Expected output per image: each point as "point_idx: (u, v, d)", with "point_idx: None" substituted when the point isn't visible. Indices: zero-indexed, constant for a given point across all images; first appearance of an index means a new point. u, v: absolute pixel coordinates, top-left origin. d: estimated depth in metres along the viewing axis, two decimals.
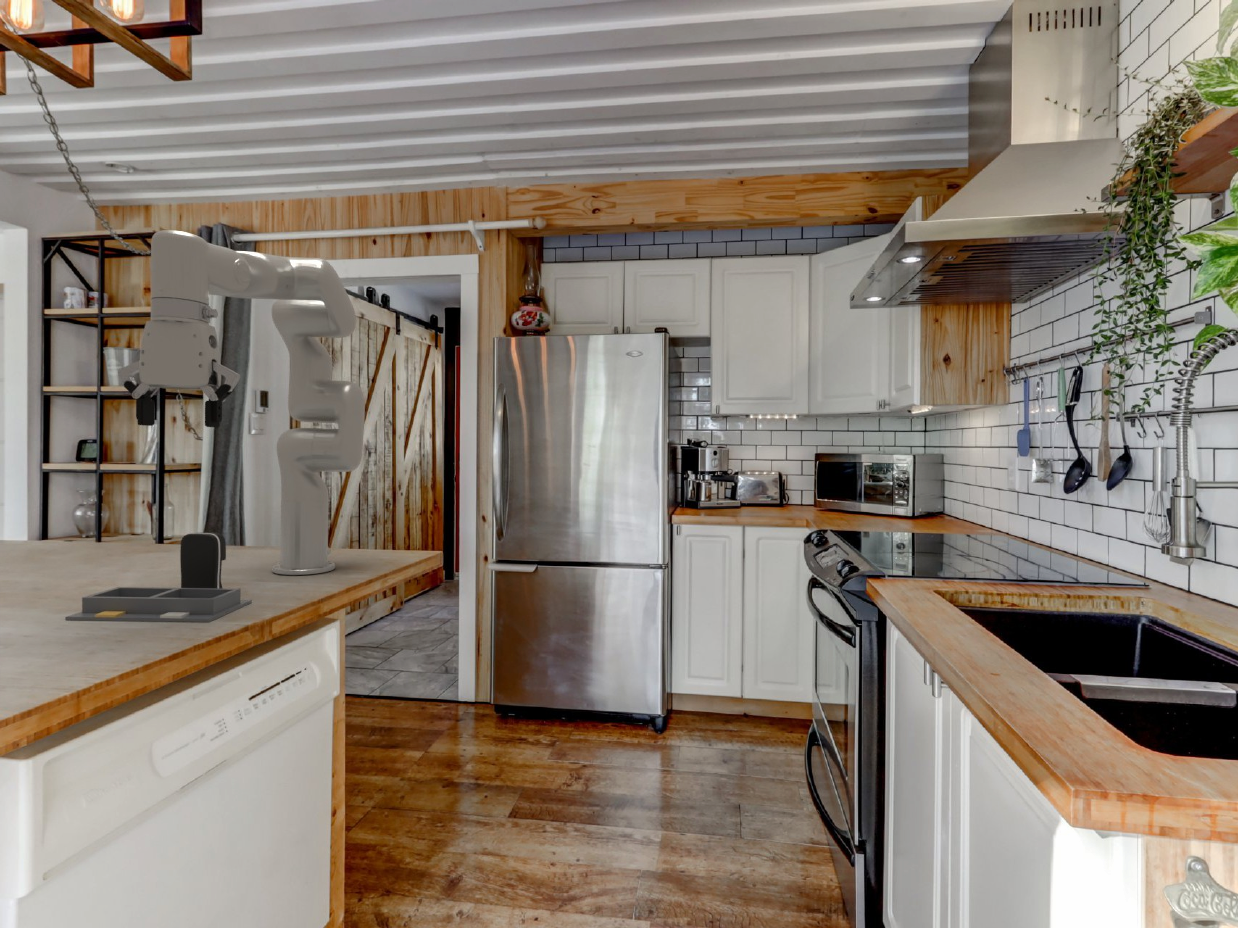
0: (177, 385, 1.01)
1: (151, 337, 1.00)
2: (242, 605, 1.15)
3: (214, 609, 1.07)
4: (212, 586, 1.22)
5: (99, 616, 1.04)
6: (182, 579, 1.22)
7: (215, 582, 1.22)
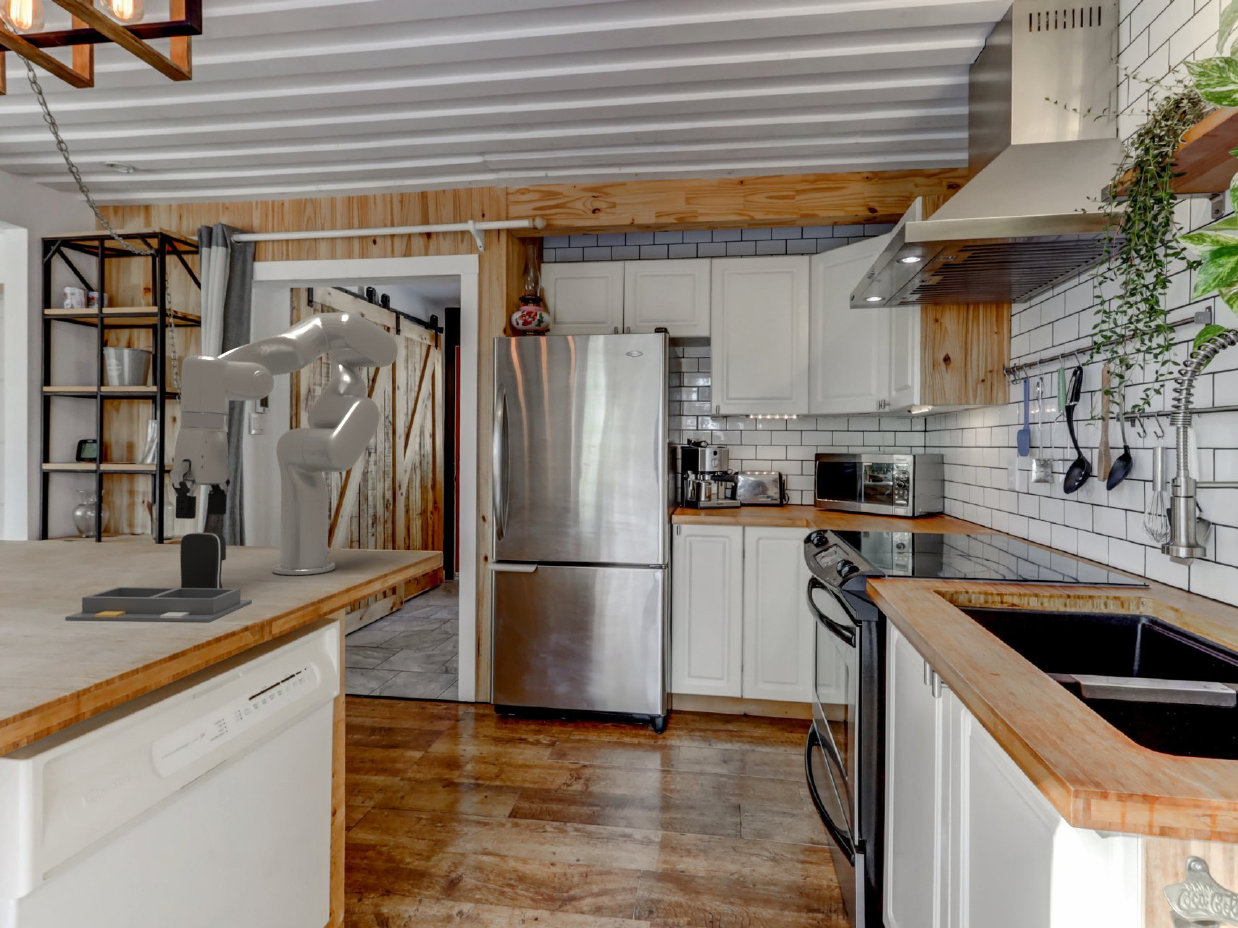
0: (215, 483, 1.23)
1: (207, 444, 1.20)
2: (242, 605, 1.15)
3: (214, 609, 1.07)
4: (212, 586, 1.22)
5: (99, 616, 1.04)
6: (182, 579, 1.22)
7: (215, 582, 1.22)
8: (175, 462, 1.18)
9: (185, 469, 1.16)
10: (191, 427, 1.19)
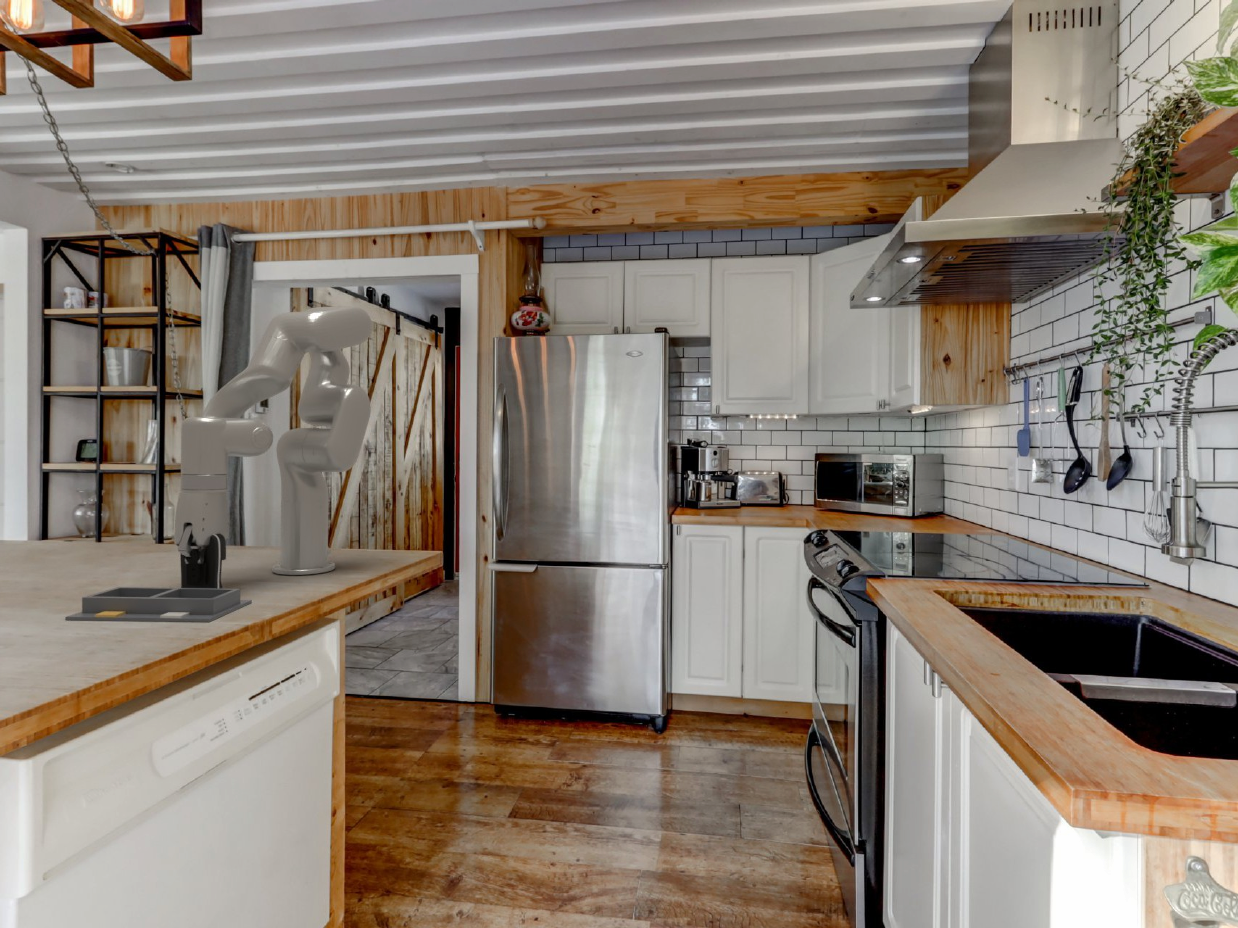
0: None
1: (208, 506, 1.20)
2: (242, 605, 1.15)
3: (214, 609, 1.07)
4: (212, 586, 1.22)
5: (99, 616, 1.04)
6: (182, 579, 1.22)
7: (215, 582, 1.22)
8: (176, 525, 1.18)
9: (190, 539, 1.18)
10: (191, 490, 1.19)
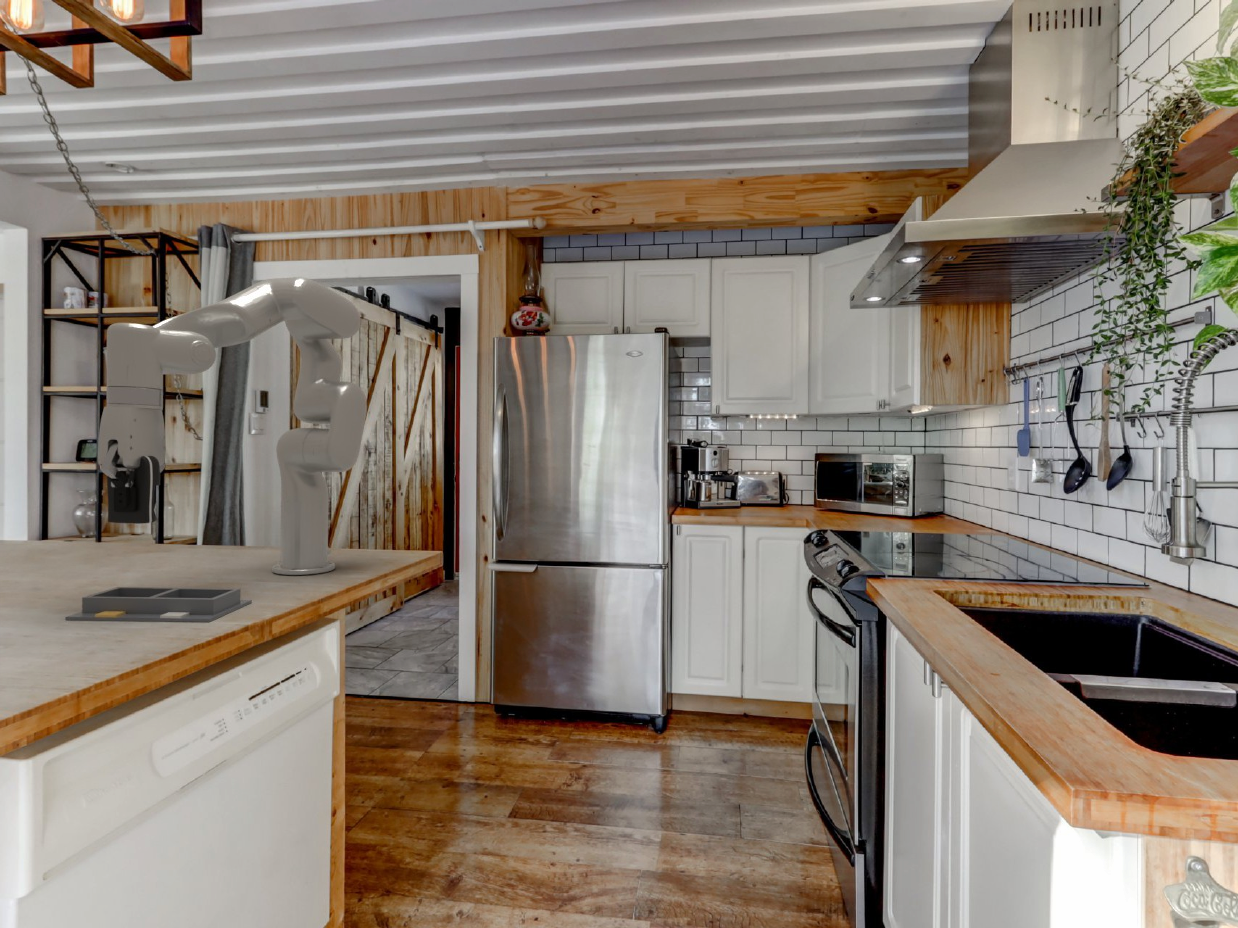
0: None
1: (137, 423, 1.07)
2: (242, 605, 1.15)
3: (214, 609, 1.07)
4: (143, 513, 1.08)
5: (99, 616, 1.04)
6: (109, 505, 1.08)
7: (146, 509, 1.09)
8: (100, 443, 1.05)
9: (116, 458, 1.05)
10: (118, 403, 1.06)
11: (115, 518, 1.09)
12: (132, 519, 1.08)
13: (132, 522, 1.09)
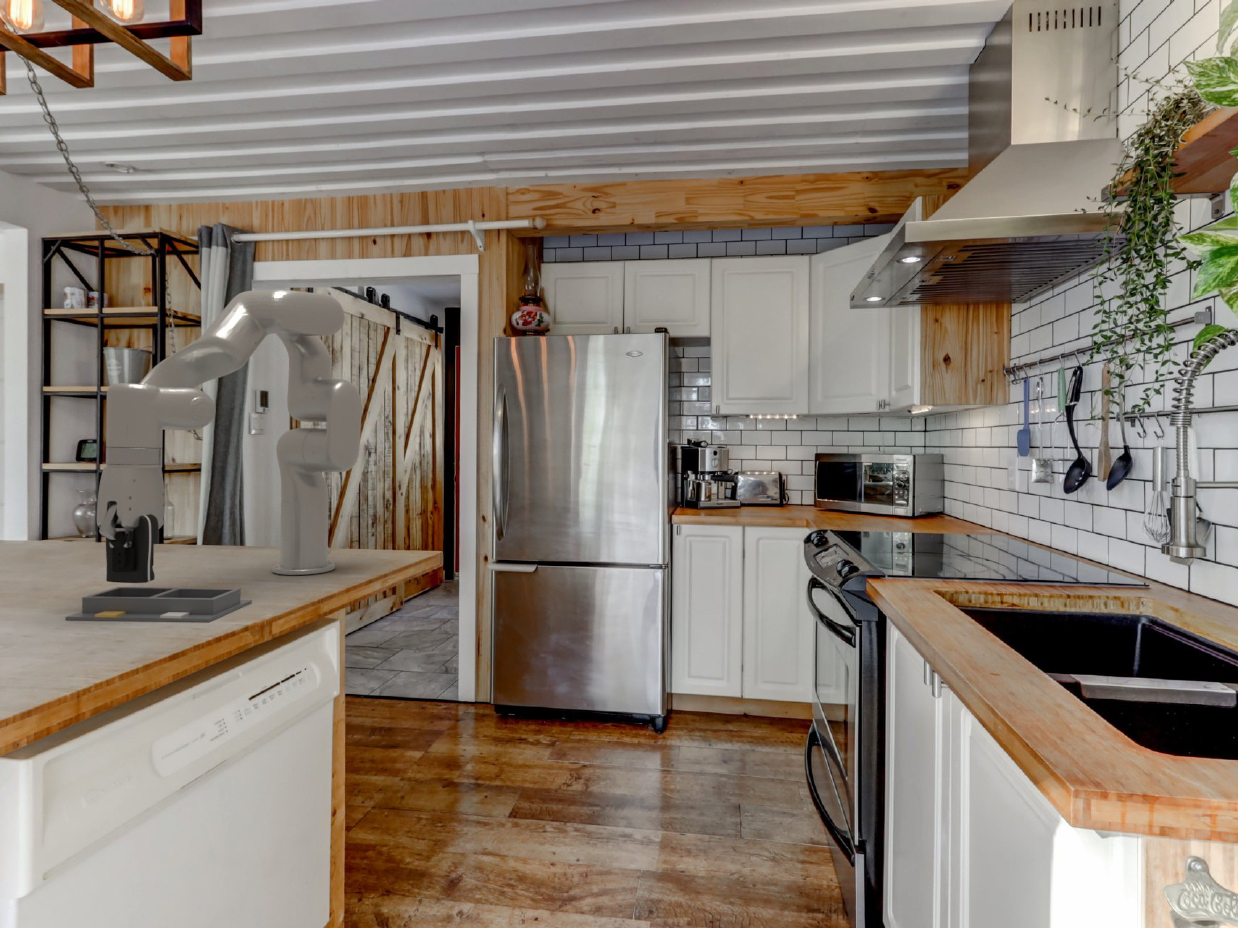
0: None
1: (136, 483, 1.07)
2: (242, 605, 1.15)
3: (214, 609, 1.07)
4: (141, 573, 1.08)
5: (99, 616, 1.04)
6: (108, 565, 1.09)
7: (145, 568, 1.09)
8: (99, 504, 1.05)
9: (115, 520, 1.05)
10: (117, 464, 1.06)
11: (113, 578, 1.09)
12: (130, 579, 1.09)
13: (130, 582, 1.09)
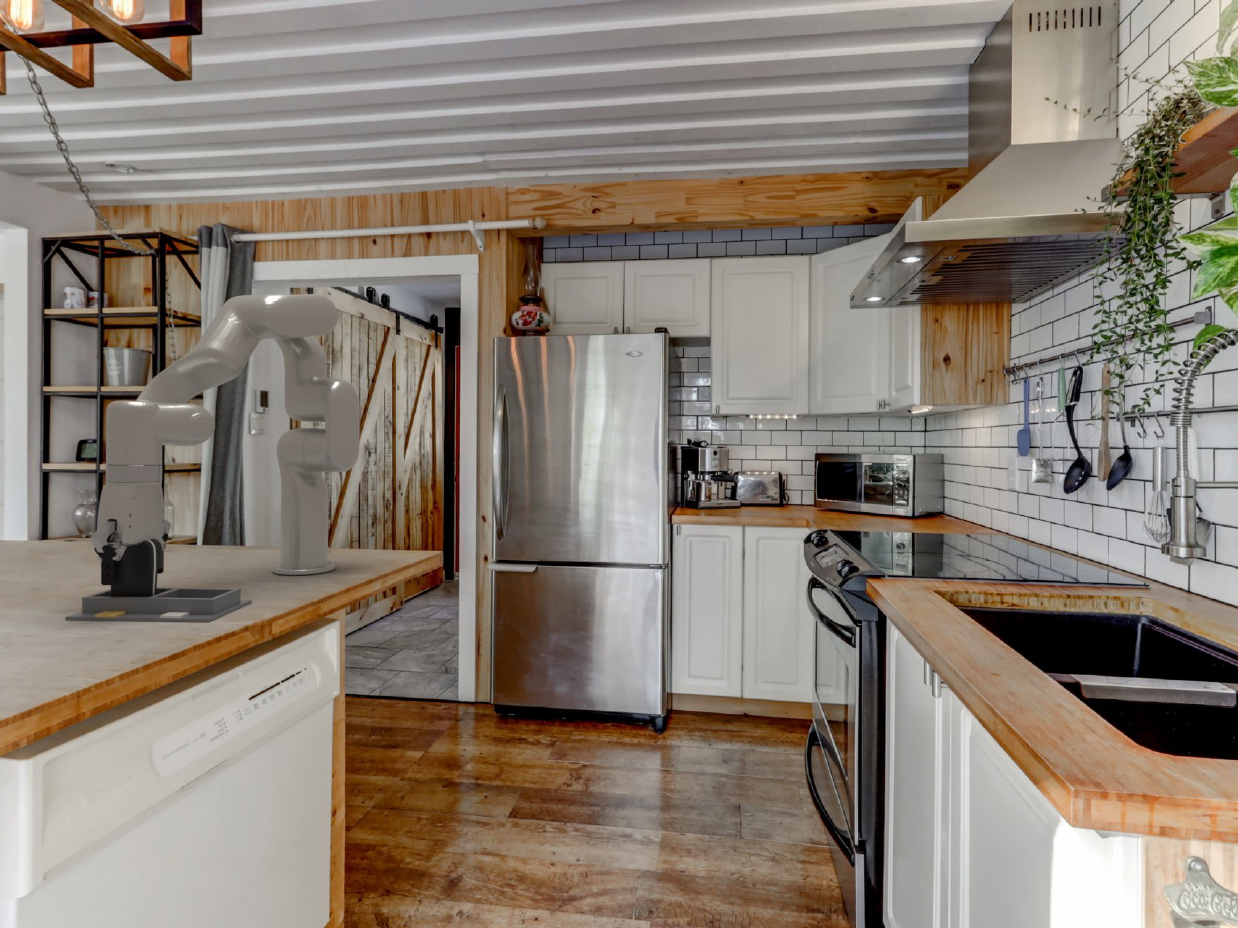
0: None
1: (136, 501, 1.07)
2: (242, 605, 1.15)
3: (214, 609, 1.07)
4: None
5: (99, 616, 1.04)
6: (112, 590, 1.09)
7: (150, 593, 1.10)
8: (99, 522, 1.05)
9: (110, 531, 1.04)
10: (117, 482, 1.06)
11: None
12: None
13: None
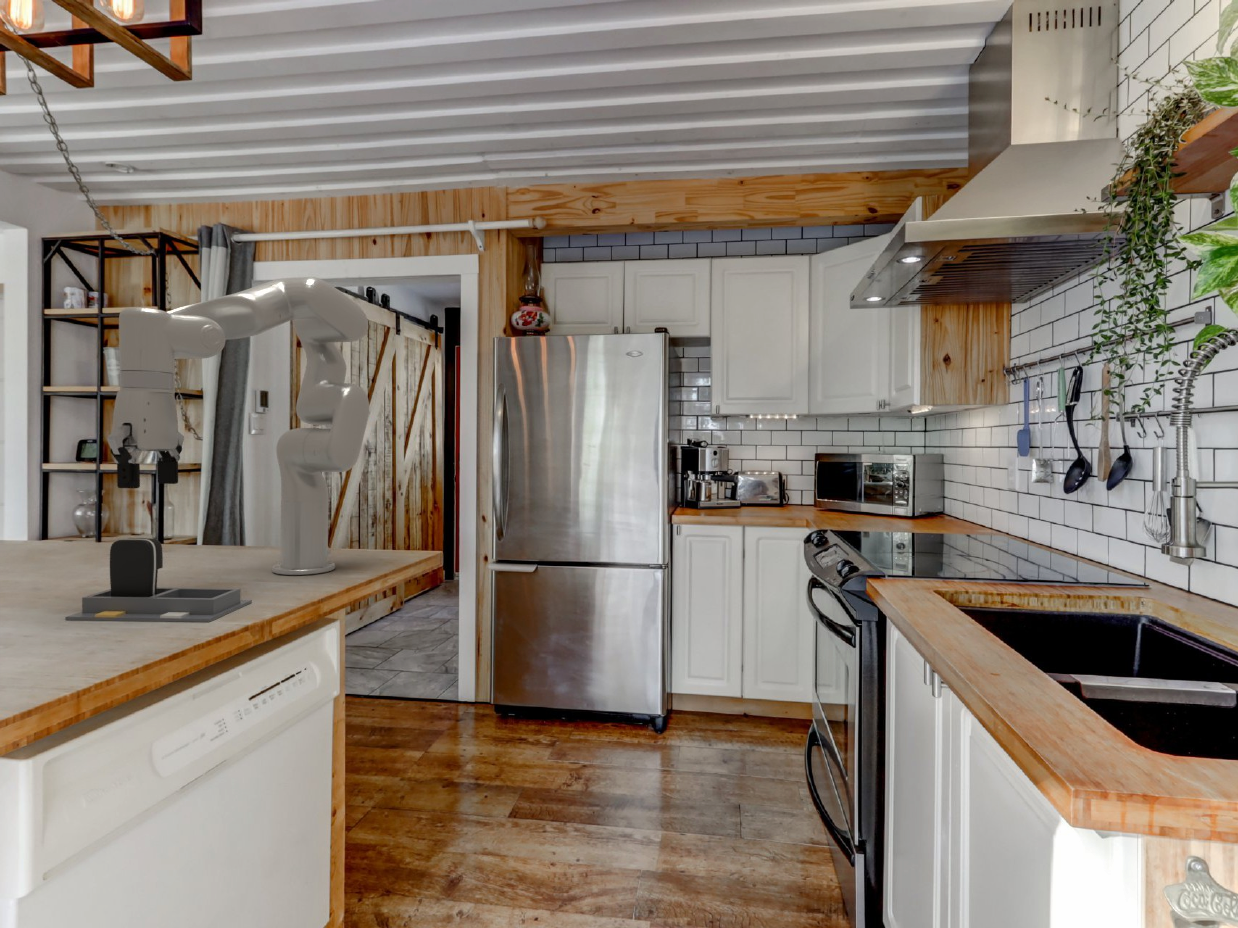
0: (162, 449, 1.12)
1: (150, 406, 1.09)
2: (242, 605, 1.15)
3: (214, 609, 1.07)
4: None
5: (99, 616, 1.04)
6: (112, 590, 1.09)
7: (150, 593, 1.10)
8: (114, 426, 1.07)
9: (125, 434, 1.05)
10: (131, 387, 1.08)
11: None
12: None
13: None
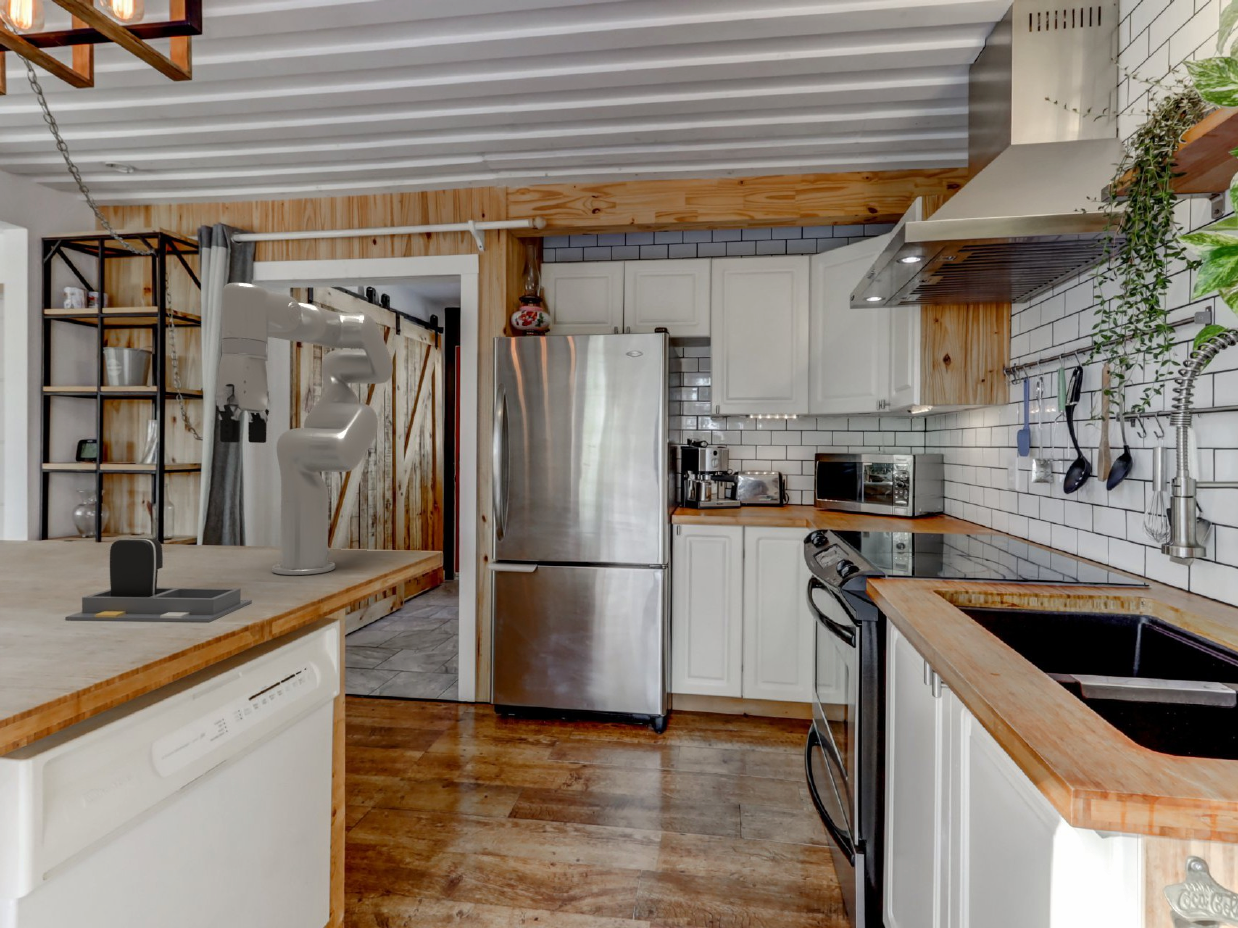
0: (256, 410, 1.26)
1: (249, 370, 1.22)
2: (242, 605, 1.15)
3: (214, 609, 1.07)
4: None
5: (99, 616, 1.04)
6: (112, 590, 1.09)
7: (150, 593, 1.10)
8: (218, 387, 1.20)
9: (229, 393, 1.19)
10: (233, 353, 1.21)
11: None
12: None
13: None
